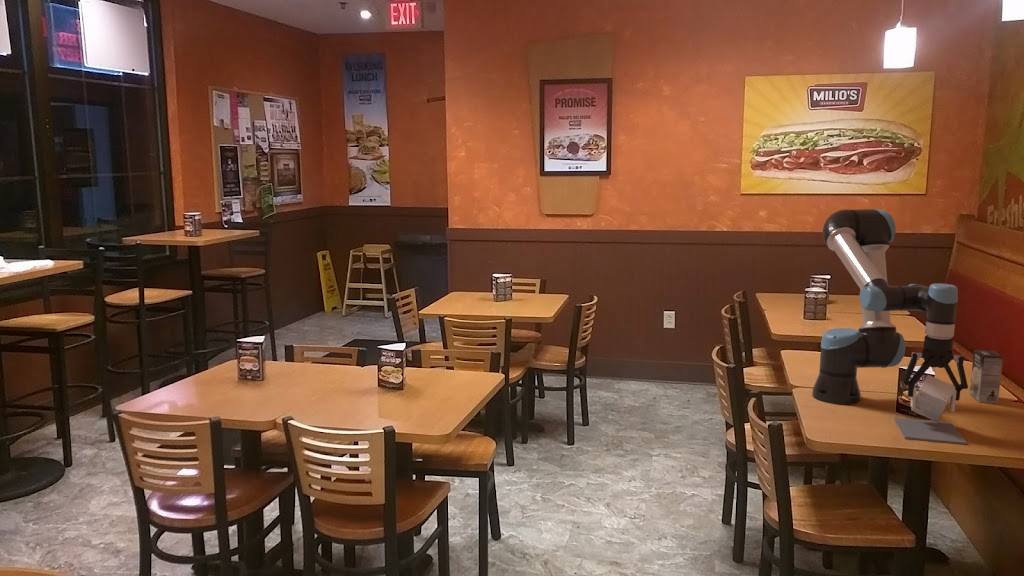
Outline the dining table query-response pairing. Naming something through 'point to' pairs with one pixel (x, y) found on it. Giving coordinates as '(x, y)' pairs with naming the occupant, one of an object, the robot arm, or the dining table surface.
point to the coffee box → (986, 376)
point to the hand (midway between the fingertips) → (932, 408)
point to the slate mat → (929, 431)
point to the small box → (932, 398)
